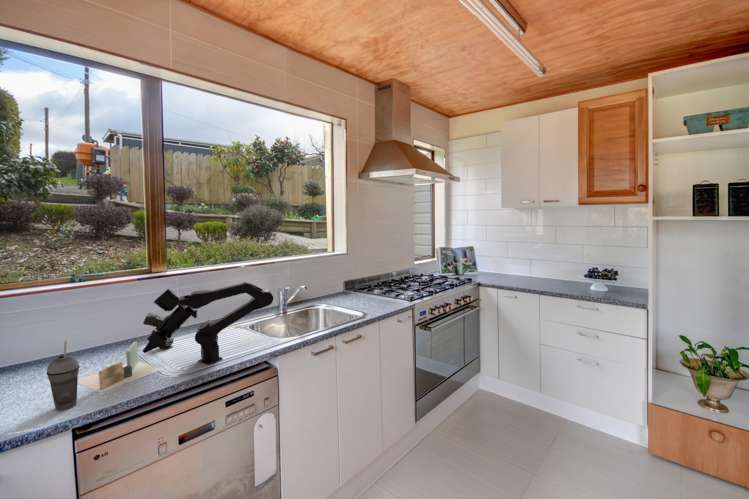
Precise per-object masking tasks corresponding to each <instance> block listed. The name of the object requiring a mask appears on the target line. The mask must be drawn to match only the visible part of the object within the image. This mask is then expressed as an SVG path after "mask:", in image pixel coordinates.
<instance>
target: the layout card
mask: <svg viewBox="0 0 749 499" xmlns="http://www.w3.org/2000/svg"><path fill="white" fill-rule="evenodd" d="M126 366H127V363H124V364H123V368H124V367H126ZM153 366H154V365H152V364H148V363H145V362H141V361H139V360H138V363H137V364H136V366H135V368H134V369H133V371H132V376H131V377H124V371H123V379H122V380H120V381H118V382H116V383H114V384H112V385H110V386H108V387H106V388H103V389H100V382H99V372H97V373H94V374H91V375H88V376H85V377H83V378H82V377H81V378H79V379H78V381H77V385H78V384H79V385H81V386H83V387H85V388H88V389H90V390H92V391H95V392H97V393H98V394H99V393H103V392H106V391H108V390H111V389H114V388H116V387H119V386H122V385H125V384H127V383H130V382H133V381H135V380H137V379H140V378H143V377H145V376H149V375H151V374H153V373H156V372H159V371H158V370H157V369H156V368H154V367H155V366H154V367H153Z"/></svg>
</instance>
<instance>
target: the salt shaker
mask: <svg viewBox="0 0 749 499" xmlns="http://www.w3.org/2000/svg"><path fill="white" fill-rule="evenodd" d="M166 338H167V339H168V343H167V345H166V346H165V347H164V348H163V349H160V350H161V351H165V350H170V349H172V348H173V344H174V340H175V338H173V337H172V336H171V337H170V338H168V337H166Z"/></svg>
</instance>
